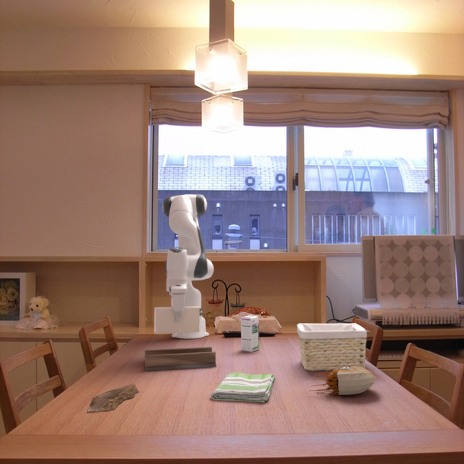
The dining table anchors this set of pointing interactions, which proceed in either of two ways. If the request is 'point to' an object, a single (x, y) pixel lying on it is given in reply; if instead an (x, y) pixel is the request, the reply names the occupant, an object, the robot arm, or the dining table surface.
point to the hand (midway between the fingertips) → (177, 320)
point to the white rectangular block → (167, 323)
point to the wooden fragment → (112, 399)
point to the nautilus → (347, 380)
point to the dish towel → (244, 387)
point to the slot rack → (179, 358)
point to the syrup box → (250, 333)
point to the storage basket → (331, 346)
